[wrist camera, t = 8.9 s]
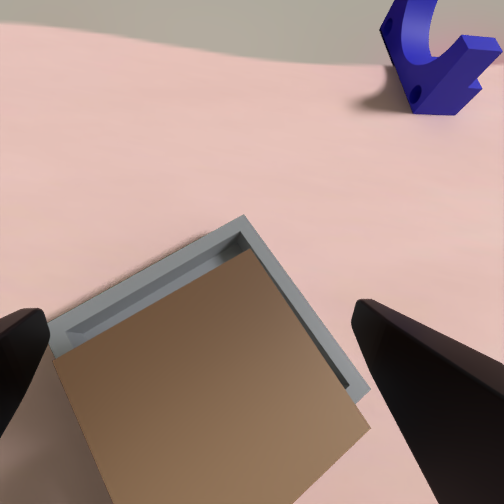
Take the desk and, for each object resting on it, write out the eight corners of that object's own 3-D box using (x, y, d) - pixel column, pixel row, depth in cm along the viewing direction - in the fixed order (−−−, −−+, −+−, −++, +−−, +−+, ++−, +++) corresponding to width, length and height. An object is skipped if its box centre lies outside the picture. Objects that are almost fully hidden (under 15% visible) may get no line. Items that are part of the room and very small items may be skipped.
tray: (172, 544, 13) (163, 587, 10) (67, 330, 15) (40, 326, 13) (347, 383, 16) (370, 389, 14) (239, 231, 18) (243, 214, 16)
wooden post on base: (272, 386, 15) (491, 522, 3) (209, 435, 14) (192, 930, 2) (216, 295, 16) (228, 154, 4) (154, 332, 15) (-50, 273, 3)
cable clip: (453, 117, 26) (519, 52, 20) (411, 115, 25) (468, 48, 20) (415, 33, 30) (462, -40, 24) (379, 30, 29) (418, -46, 24)
